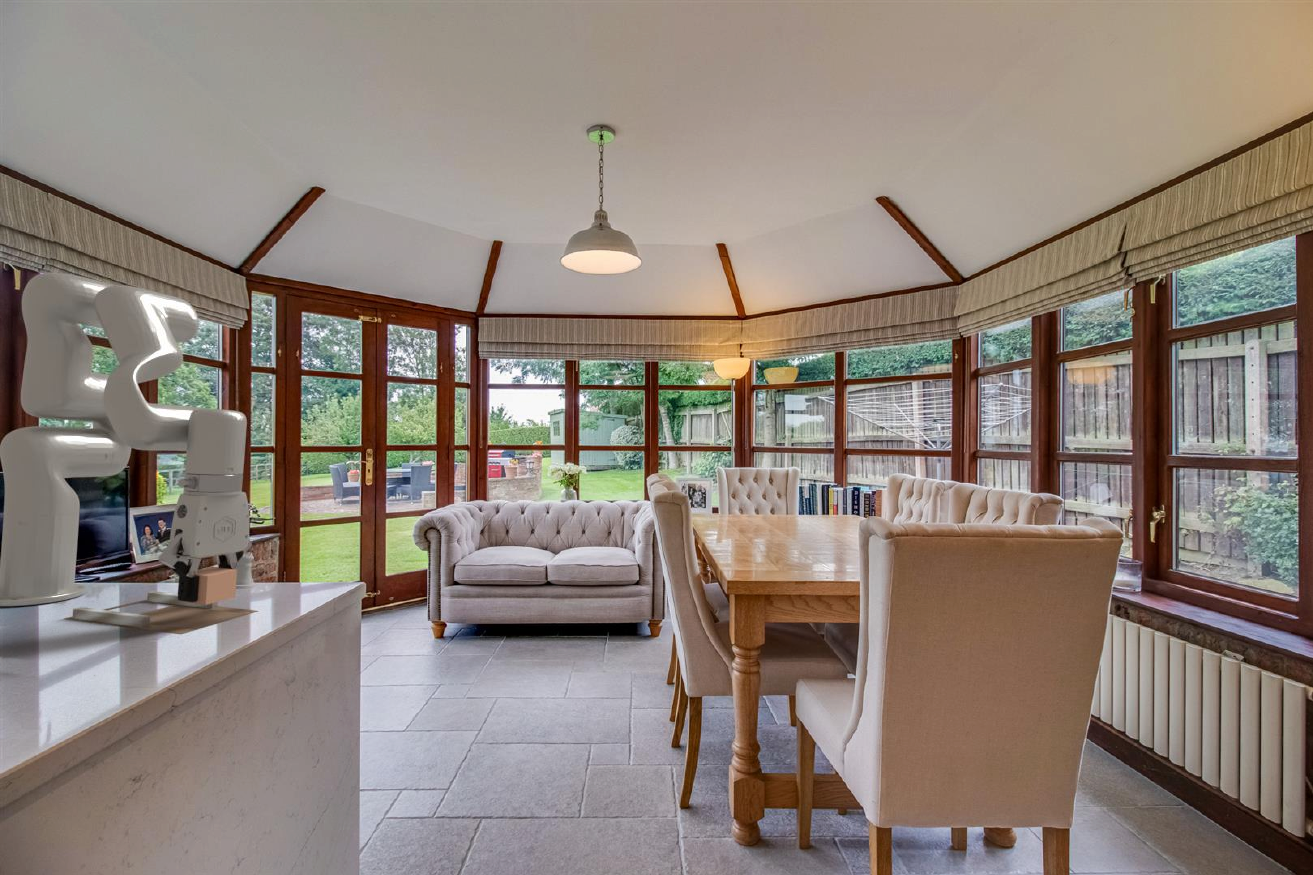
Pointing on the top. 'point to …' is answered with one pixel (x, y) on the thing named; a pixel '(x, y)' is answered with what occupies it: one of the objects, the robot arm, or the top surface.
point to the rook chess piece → (244, 571)
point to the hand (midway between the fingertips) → (205, 595)
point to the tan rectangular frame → (163, 615)
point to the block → (215, 585)
